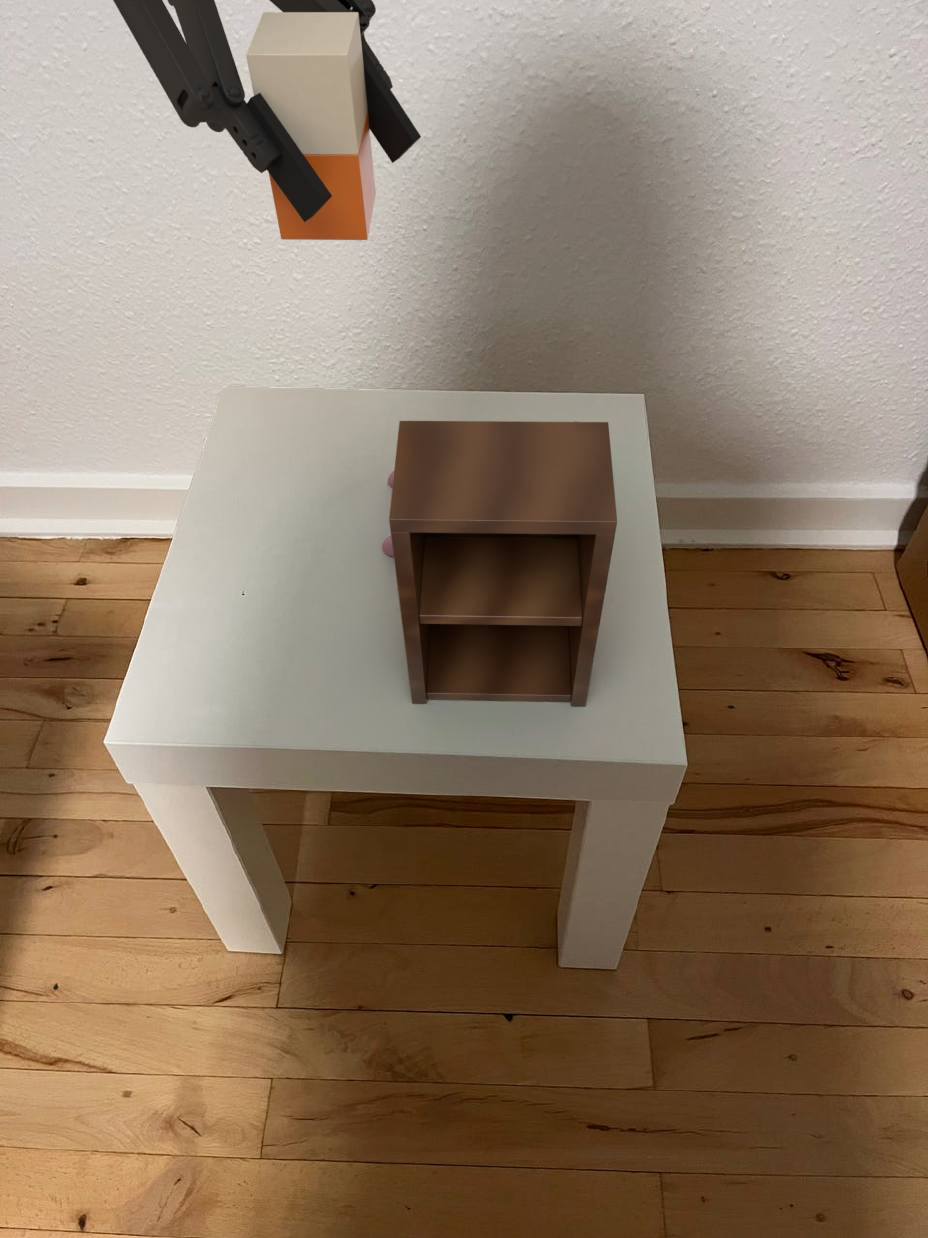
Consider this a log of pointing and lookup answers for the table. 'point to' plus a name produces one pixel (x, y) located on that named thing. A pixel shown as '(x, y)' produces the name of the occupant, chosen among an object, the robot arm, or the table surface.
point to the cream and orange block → (319, 115)
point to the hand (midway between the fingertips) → (363, 178)
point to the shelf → (502, 556)
